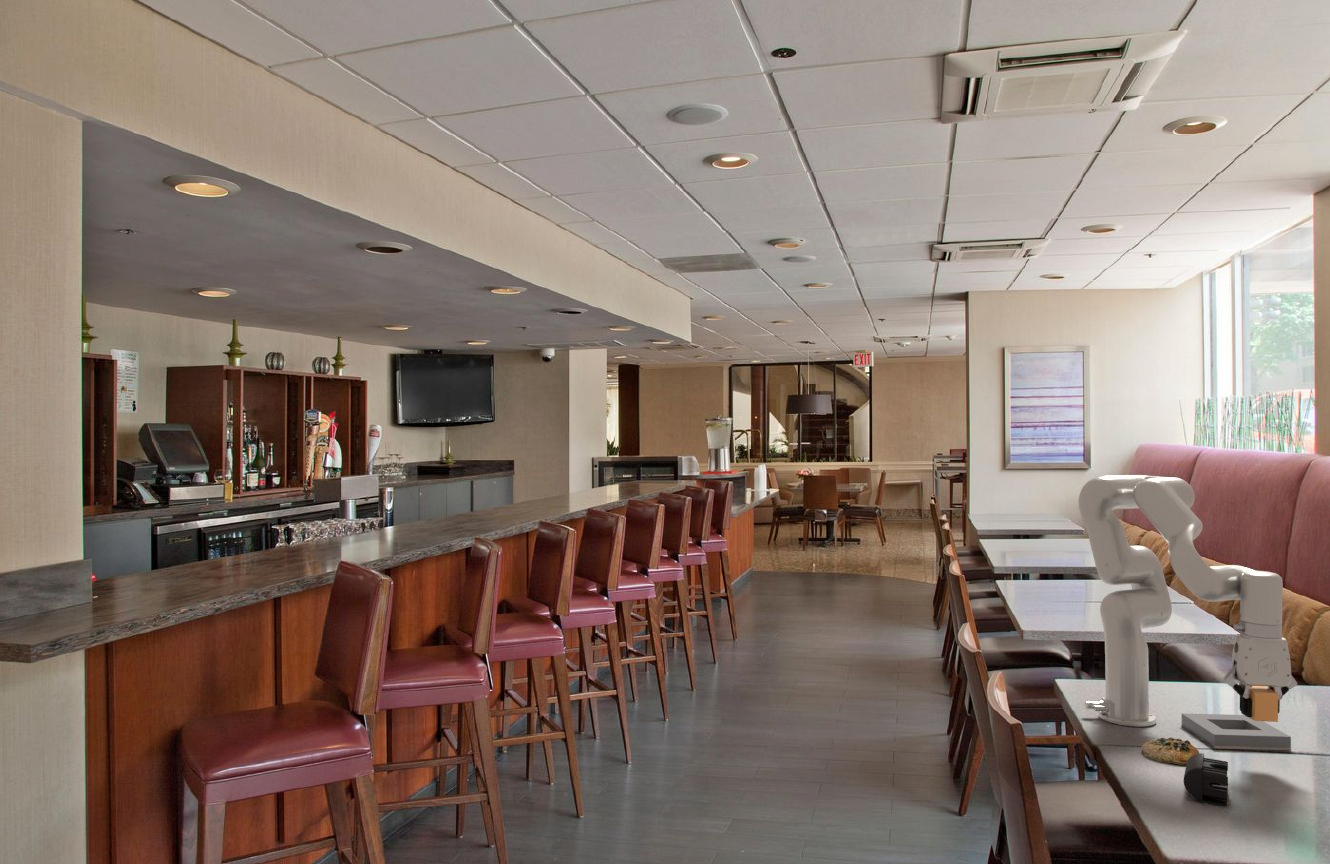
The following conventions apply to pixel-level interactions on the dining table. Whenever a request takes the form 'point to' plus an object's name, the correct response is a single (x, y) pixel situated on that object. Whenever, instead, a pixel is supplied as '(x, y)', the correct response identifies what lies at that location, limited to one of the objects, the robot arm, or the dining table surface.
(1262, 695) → the plug
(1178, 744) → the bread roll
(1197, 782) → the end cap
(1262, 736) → the socket plate
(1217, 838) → the dining table surface
